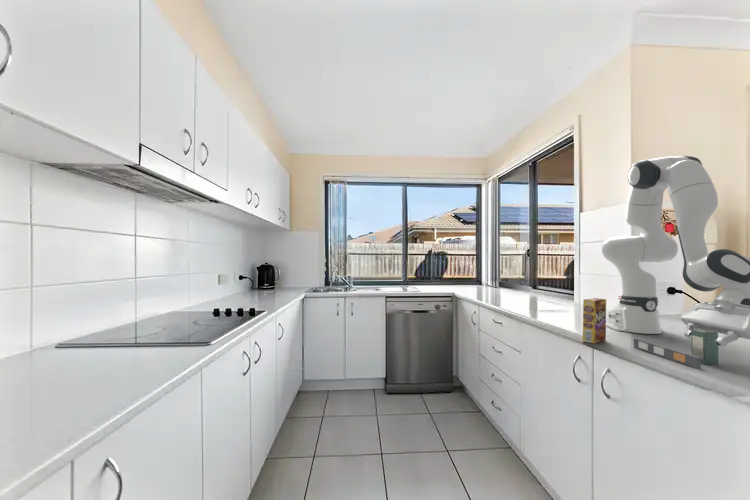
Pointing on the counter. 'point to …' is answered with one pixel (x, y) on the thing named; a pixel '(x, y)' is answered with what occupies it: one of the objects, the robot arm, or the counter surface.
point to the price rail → (668, 353)
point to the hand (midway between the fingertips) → (702, 340)
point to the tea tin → (705, 345)
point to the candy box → (594, 320)
